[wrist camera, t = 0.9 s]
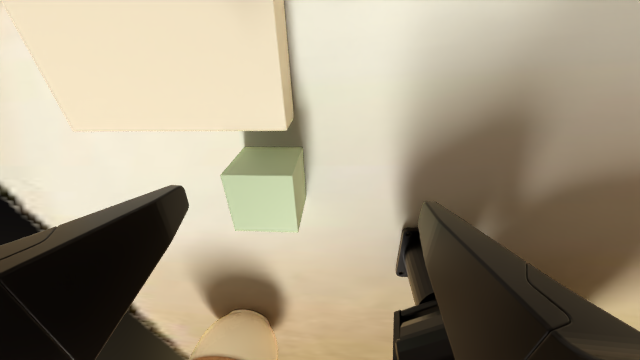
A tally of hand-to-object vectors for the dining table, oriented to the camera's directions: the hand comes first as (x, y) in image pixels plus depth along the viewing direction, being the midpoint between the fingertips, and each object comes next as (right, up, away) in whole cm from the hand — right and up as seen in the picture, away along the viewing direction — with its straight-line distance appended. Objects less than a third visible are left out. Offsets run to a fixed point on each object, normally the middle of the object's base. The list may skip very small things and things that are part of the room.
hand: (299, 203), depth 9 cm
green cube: (-3, +2, +13) cm, 14 cm away
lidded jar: (-9, -19, +26) cm, 34 cm away
